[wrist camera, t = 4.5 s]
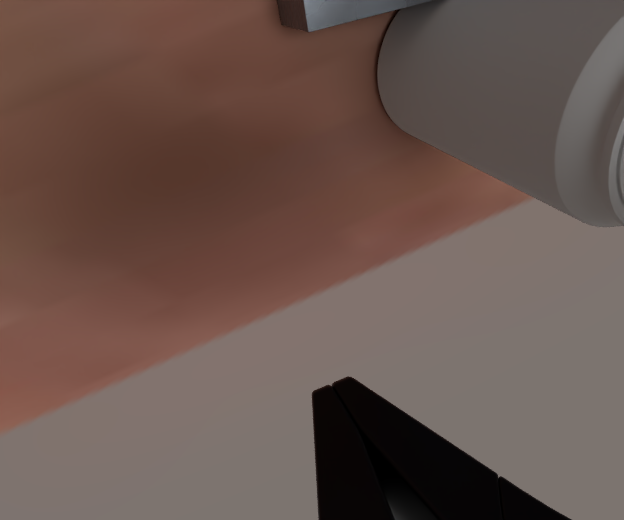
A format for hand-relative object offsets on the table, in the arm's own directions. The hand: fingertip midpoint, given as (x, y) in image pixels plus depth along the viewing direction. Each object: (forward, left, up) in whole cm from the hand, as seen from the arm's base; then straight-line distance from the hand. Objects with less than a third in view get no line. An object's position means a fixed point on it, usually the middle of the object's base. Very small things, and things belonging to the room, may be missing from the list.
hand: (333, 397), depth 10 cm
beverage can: (-11, -2, -13) cm, 17 cm away
